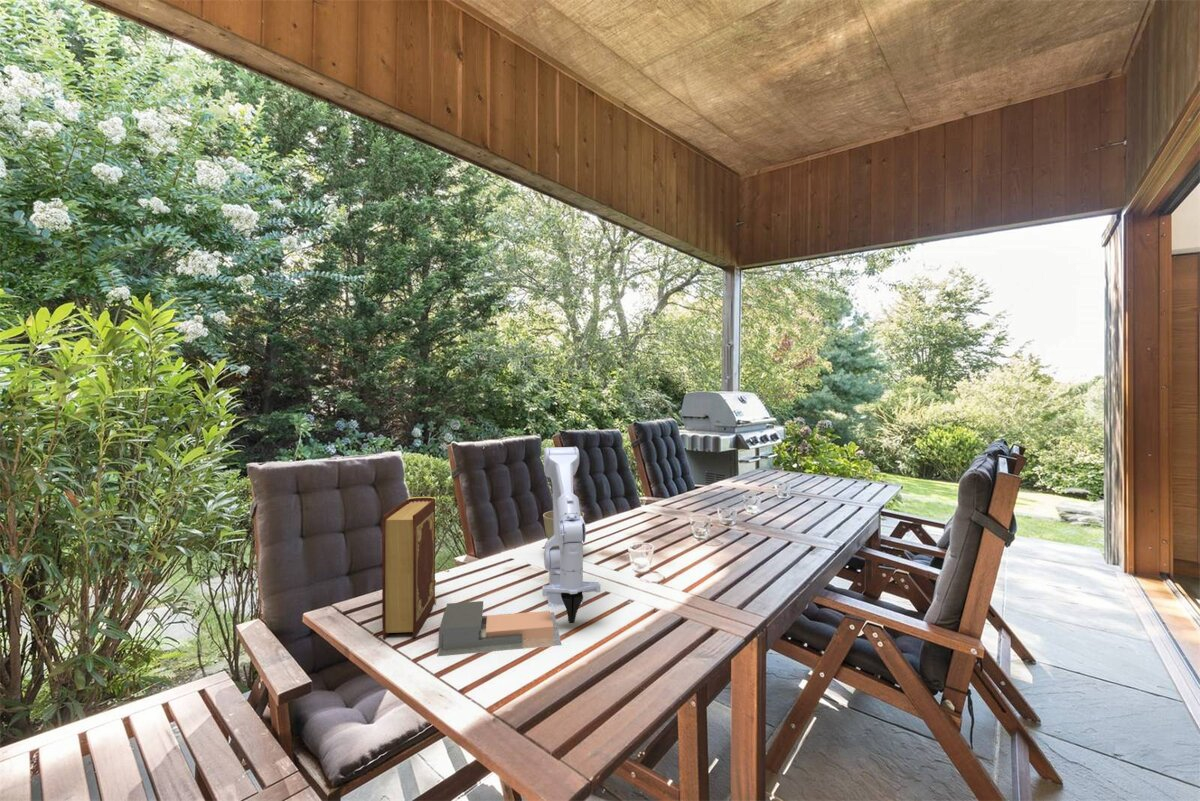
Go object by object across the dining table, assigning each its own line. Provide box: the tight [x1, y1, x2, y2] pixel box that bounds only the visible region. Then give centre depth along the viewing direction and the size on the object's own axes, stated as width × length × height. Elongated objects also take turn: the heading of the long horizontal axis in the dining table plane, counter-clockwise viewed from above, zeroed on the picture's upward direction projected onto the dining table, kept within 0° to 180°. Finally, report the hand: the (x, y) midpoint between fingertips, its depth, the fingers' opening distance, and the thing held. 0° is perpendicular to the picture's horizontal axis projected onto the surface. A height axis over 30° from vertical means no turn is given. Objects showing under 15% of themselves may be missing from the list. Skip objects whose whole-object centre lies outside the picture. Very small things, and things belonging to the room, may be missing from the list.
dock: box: [436, 600, 562, 657], centre depth 123 cm, size 28×18×6 cm, turn 101°
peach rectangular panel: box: [486, 610, 553, 639], centre depth 124 cm, size 16×9×2 cm, turn 101°
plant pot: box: [542, 510, 585, 548], centre depth 181 cm, size 15×15×16 cm
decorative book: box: [381, 496, 437, 641], centre depth 131 cm, size 22×8×30 cm, turn 5°
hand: (571, 621), depth 126 cm, fingers closed
